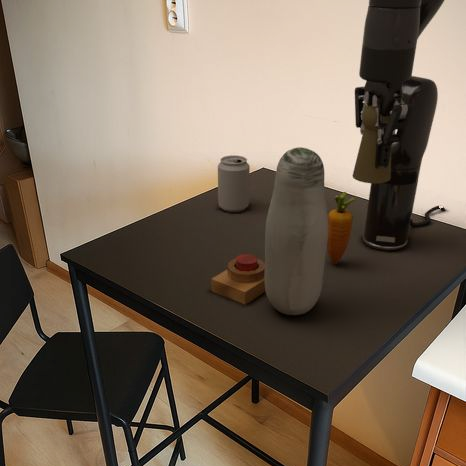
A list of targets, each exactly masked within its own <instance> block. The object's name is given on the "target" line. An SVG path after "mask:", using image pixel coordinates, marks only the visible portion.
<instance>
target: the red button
mask: <svg viewBox="0 0 466 466" xmlns="http://www.w3.org/2000/svg"><path fill="white" fill-rule="evenodd" d="M257 259H258V257H257V256H256V255H255V254H250V253H244V254H239V255H237V256H236V269H238V270H240V271H253V270H256V269H257Z"/></svg>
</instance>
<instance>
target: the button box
mask: <svg viewBox="0 0 466 466" xmlns="http://www.w3.org/2000/svg"><path fill="white" fill-rule="evenodd" d="M210 280H211V281H210V282H211V292H213V293H215V294H217V295H220V296H222V297H225V298H227V299H230V300H232V301H235V302H237V303H240V304H242V305H247V304H249V303H250V302H252V301H253V300H255V299H256V298H258V297H259V296H261V295H262V294H264V293H266V291H265V261H263V260H262V259H259V258H257V269H256V270H253V271H240V270H238V269H236V258H233V259H232V260H229V262H228V264H227V269H225V270H223V271H222V272H220V273H218V274H217V275H215V276H213V277H211V279H210Z"/></svg>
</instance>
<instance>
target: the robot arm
mask: <svg viewBox="0 0 466 466" xmlns="http://www.w3.org/2000/svg"><path fill="white" fill-rule="evenodd" d="M444 3H445V0H368V6H367V12H366V16H365V22H364V26H363V34H362V44H361V53H360V60H359V61H360V63H359V71H358V74H359V75H358V76H359V77H360V78H361V79H362V80H364V81H365V83H364V86H356V87H355V88H354V111H355V112H354V117H355V127H356V128H357V129H359V130H360V131H359V132H360V135H363V131H364V125H363V123H362V114H363V111H364V109H365V108H366V107H367V106H369V105H372V106H373V108H374V110H375V113H376V123H375V127H376V128H377V144H376V158H375V167H376V168H377V169H378V167H379V166H384V167H385V168H387V167H388V164H389V158H390V152H391V179H390V180H389V181H387V182H384V183H370V188H369V194H368V203H367V209H366V217H365V224H364V231H363V235H362V242H363V243H364V244H365V245H366V246H368V247H369V248H372V249H375V250H379V251H386V252H387V251H389V252H390V251H398V250H402V249H404V248H405V247H406V246H407V245H408V238H409V232H410V227H413V228H414V227H415V228H417V227H418V228H419V227H422V226H426V225H428V224H430V223H431V217H430V216H429V215H430V214H432V213H433V212H435V211H438V210H440V211H441V212H446V208H445V207H444V206H443V208H441V209H440V208H439V206H440V205H436V206H433V207H431V208H430V209H428V210H427V211H426V212H425V213H424V218H425V220H423V221H420V222H414V221H413V218H412V216H413V210H414V204H415V200H416V194H417V188H418V183H419V178H420V172H421V166H422V163H423V157H424V155H425V153H426V150H427V147H428V144H429V139H430V135H431V131H432V127H433V122H434V118H435V115H436V110H437V106H438V97H439V95H438V94H439V92H438V86H437V84H436V82H435V81H434V80H433V79H430V78H426V77H421V76H416V75H415V76H414V75H413V72H414V71H413V69H414V63H415V57H416V51H417V44H418V40H419V37H420V36H421V35H422V34H423V32H424V31H425V29H426V28H427V26H428V25H429V24H430V22H432V20H433V18H434V17H435V16H436V14H437V13H438V11H439V10H440V9H441V7H442V5H443V4H444ZM381 115H382V116H383V117H385V116H390V119H389V122H382V121H381ZM385 127H387V128H386V131H385V134H384V128H385Z"/></svg>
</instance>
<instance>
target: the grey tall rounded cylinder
mask: <svg viewBox="0 0 466 466" xmlns="http://www.w3.org/2000/svg"><path fill="white" fill-rule="evenodd" d="M273 185H274V186H273V191H272V196H271V200H270V204H269V207H268V212H267V216H266V221H265V231H264V233H265V234H264V264H265V294H266V298H267V300H268V302H269V303H270V304H271V306H272V307H273V308H274V309H275V310H276V311H278V312H280V313H281V314H283V315H287V316H299V315H304V314H306V313H307V312H309V311H311V310H312V309H313V308H314V306H315V305H316V304H317V302H318V300H319V299H320V296H321V294H322V289H323V284H324V276H325V265H326V257H327V252H328V249H327V242H328V214H329V213H328V209H327V208H328V207H327V202H326V201H327V200H326V189H325V188H326V187H325V166H324V162H323V160H322V158H321V156H320V155H319V154H318V152H316V151H314V150H312V149H310V148H307V147H294V148H291V149H288V150H287V151H285V152H284V154H282V156H281V157H280V159H279V160H278V163H277V165H276V170H275V179H274V184H273Z"/></svg>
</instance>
